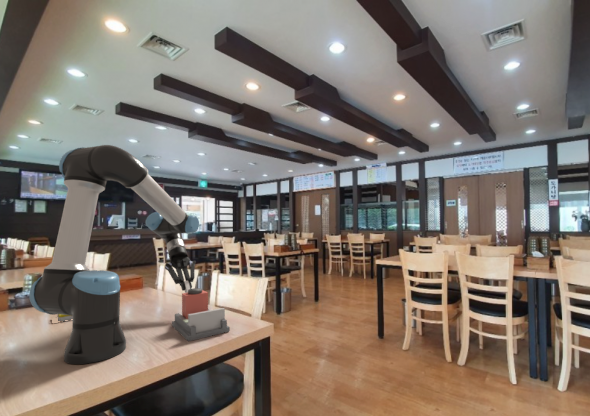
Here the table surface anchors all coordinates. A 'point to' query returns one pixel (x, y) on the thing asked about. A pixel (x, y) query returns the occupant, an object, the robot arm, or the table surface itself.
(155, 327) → the table surface
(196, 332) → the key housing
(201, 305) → the block
